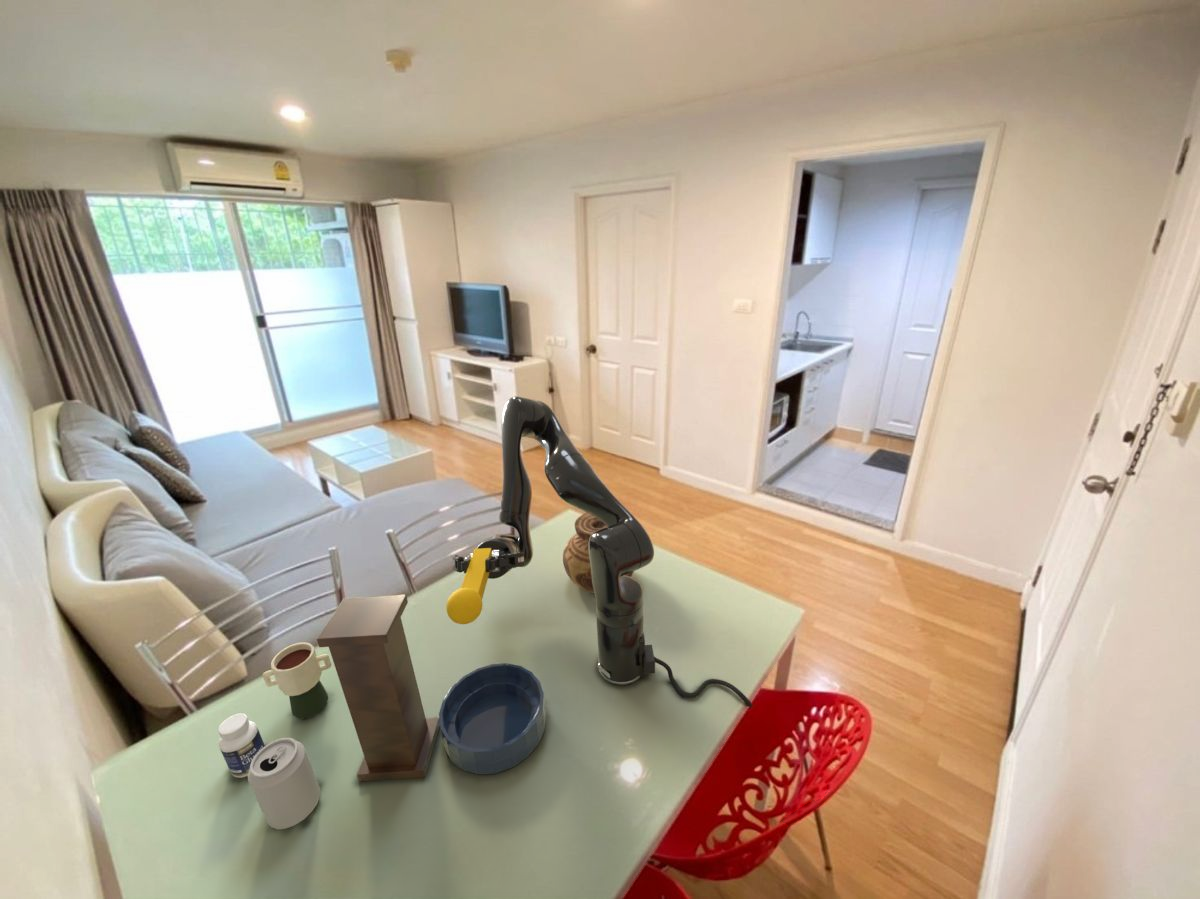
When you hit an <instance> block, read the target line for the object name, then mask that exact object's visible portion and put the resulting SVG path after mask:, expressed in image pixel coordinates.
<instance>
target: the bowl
mask: <svg viewBox="0 0 1200 899" xmlns="http://www.w3.org/2000/svg"><path fill="white" fill-rule="evenodd" d="M438 718H439V722H440V727H439V731H440V733H441V738H442V742H443V747H444V750H445V752H446V754H447V756H448V757H449V760H450V761H451V762H452V763H453V764H454V765H456V766H457V767H458V768H459V769H461V770H462V771H465V772H468V773H472V774H475V775H490V774H492V775H493V774H498V773H500V772H503V771H505V770H508V769H511V768H514V767H515V766H517V765H519V763H521V762H523V761H524V760H525V759H527V758H528V757H529V756H530V755H531V753H532V752H533V751H534V750H535V749H536V747H537V746H538V745H539V743H540V742H541V740H542V736H543V734H544V732H545V730H546V719H547V711H546V703H545V693H544V690H543V687H542V683H541V681H540V680H539V679H538V677H536V675H535V674H534V673H533V672H532V671H531V670H529V669H527V668H525V667H523V666H522V665H518V664H514V663H508V662H507V663H506V662H504V663H492V664H488V665H485V666H482V667H477V668H476V669H474V670H472V671H471V672H469V673H467V674H465V675H463V676H462V677H461V678H460V679H459V680H458V681H457V682H455V683H454V684H453V685H452V686H451V687H450V689H449V690H448V692H447V693H446V695H445V696H444V698H443V700H442V702H441V706H440V709H439V712H438Z"/></svg>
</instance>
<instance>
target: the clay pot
mask: <svg viewBox="0 0 1200 899" xmlns="http://www.w3.org/2000/svg"><path fill="white" fill-rule="evenodd" d="M606 527H607V526H606V525H605V524H604V523H603V522H602V521H601V520H599V519H598V518H596V517H595V516H593V515H591V514H589V513H586V512H584V513H582V514H581V515H580V516H578V517H577V519H575V521H574V529H575V530H574V531H575V534H573V535H572V536H571V537H570V538H569V539H568V541H567V542H566V544H565V546H564V549H563V553H562V565H563V568H564V570H565V573H566V575H567V577H568V578H569V579H570V580H571V582H572V583H573V584H574V585H575V586H577V587H578V588H580V589H581V590H583V591H585V592H589V593H592V594H595V593H594V589H593V584H592V575H591V566H590V559H589V549H588V544H589V538H590V536H591V534H592V533H594V532H595V531H598V530H601V529H603V528H606ZM634 572H635V571H633V572H631V573H628V574H626V576H630V577H632V576H633V575H634Z"/></svg>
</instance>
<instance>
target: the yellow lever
mask: <svg viewBox="0 0 1200 899" xmlns="http://www.w3.org/2000/svg"><path fill="white" fill-rule="evenodd" d="M472 553H473V554H472ZM472 553H471V554H472V557H471V561H470V564H469V566H468V569H467V572H466V573H465V575H464V578H463V581H462V584H461V586H460V588H458V589H456V590H454V592H452V593H451V594H450V595H449V597H448V599H447V601H446V607H445V610H446V614H447V616H448V618H449V620H451V621H452V622H453V623H455V624H458V625H468V624H471V623H473V622H475V621H476V620H477V619H478V618H479V617H480V615H481V613H482V610H483V598H484V594H485V590H486V588H487V585H488V584H487V583H488V580H489V578H488V576H489V573H490V572H486V567H485V559H487V558H489V557H492V550H491V548H481V549H476V548H474V549H473V552H472Z"/></svg>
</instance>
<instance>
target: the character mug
mask: <svg viewBox="0 0 1200 899" xmlns="http://www.w3.org/2000/svg"><path fill="white" fill-rule="evenodd" d="M320 662H324V664H322V665H321V664H320ZM270 668H271V669H270V670H266V671H265V672H263V673H262V678H263V680H264V683H265V686H266V687H269V688H270V687H273V686H278V689H279V690H280V692H281V693H282V694H283V695H284V696H287V697H289V704H290V709H291V715H292V716H293V717H295V718H296V719H302V720H305V719H309V718H312V717H314V716H315V715H317V714H318V713H320V712H321V711H322V710H323V708H324V707H325V706H326V704H327V703H328V700H329V694H328V692H327V691H326V689H325V688H326V687H324V685H323V683H322V682H321V677H322V676H321V675H322V672H323V671H326V670H329V669H330V668H332V662H331V659H330V656H329V654H327V653H324V654H321V655H317V652H316V649H315V646H314V645H313V644H311V643H310V642H305V641H303V642H296V643H293V644H291V645H288V646H287V647H286V646H285V648H283V649H282V650H280V651H279V652H277V654H276V655H275V656H274V657H273V659H272V660H271V662H270ZM272 676H273V677H274V679H271V677H272Z"/></svg>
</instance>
